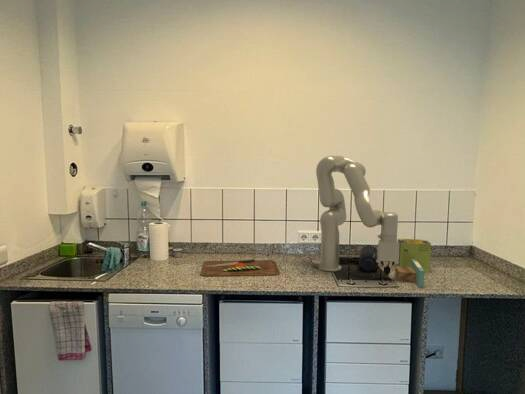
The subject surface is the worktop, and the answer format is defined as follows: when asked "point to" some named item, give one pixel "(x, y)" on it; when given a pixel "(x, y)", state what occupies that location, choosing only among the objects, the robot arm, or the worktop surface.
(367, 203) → the robot arm
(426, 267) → the protein box
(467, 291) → the worktop surface
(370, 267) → the portable speaker
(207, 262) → the chopping board
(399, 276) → the brown rectangular box
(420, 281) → the teal board
